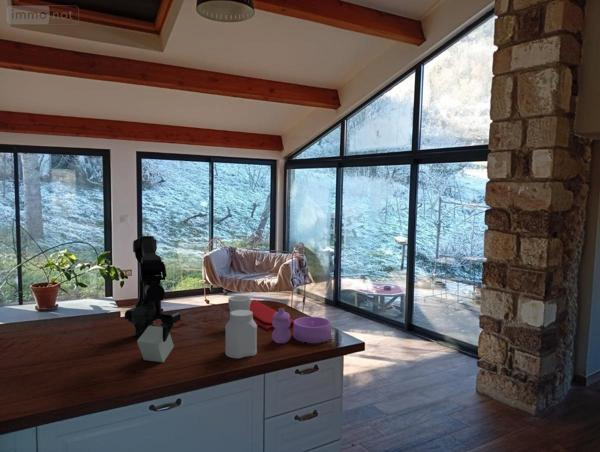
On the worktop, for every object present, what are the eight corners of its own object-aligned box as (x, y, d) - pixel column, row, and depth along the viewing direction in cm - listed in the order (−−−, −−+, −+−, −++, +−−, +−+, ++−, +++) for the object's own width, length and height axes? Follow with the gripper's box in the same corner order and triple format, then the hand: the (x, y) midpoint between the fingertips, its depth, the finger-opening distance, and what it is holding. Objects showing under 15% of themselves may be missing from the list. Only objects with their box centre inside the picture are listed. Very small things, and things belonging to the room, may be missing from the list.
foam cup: (246, 332, 190) (246, 301, 189) (225, 330, 192) (225, 300, 191) (253, 325, 200) (253, 296, 199) (233, 323, 202) (233, 295, 200)
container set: (320, 329, 196) (320, 299, 194) (337, 340, 182) (338, 308, 181) (265, 336, 185) (265, 305, 184) (279, 349, 171) (280, 314, 170)
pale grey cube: (143, 359, 158) (136, 341, 154) (155, 344, 165) (148, 325, 160) (163, 362, 156) (156, 343, 152) (174, 346, 163) (168, 327, 158)
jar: (231, 359, 159) (231, 318, 158) (221, 351, 168) (221, 311, 166) (261, 354, 165) (261, 314, 164) (250, 346, 173) (250, 307, 172)
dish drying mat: (267, 332, 192) (267, 323, 192) (228, 309, 227) (228, 302, 226) (298, 326, 201) (298, 318, 200) (256, 305, 235) (256, 298, 235)
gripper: (113, 298, 149) (114, 344, 151) (162, 303, 144) (162, 351, 145) (134, 291, 160) (135, 334, 161) (181, 295, 155) (181, 340, 156)
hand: (152, 340), depth 156 cm, fingers open, 9 cm apart
